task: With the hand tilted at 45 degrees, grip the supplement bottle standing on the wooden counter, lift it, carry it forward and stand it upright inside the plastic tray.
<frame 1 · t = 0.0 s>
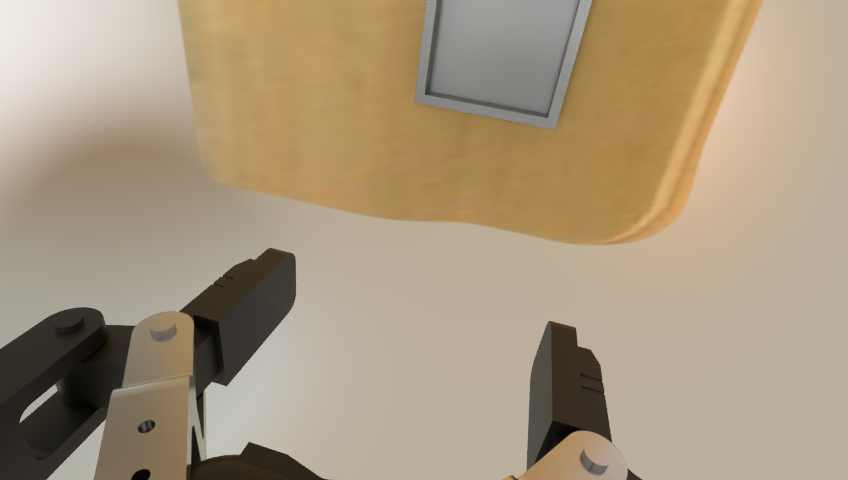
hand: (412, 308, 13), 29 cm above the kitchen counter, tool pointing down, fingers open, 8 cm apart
tray: (501, 36, 36), on the kitchen counter
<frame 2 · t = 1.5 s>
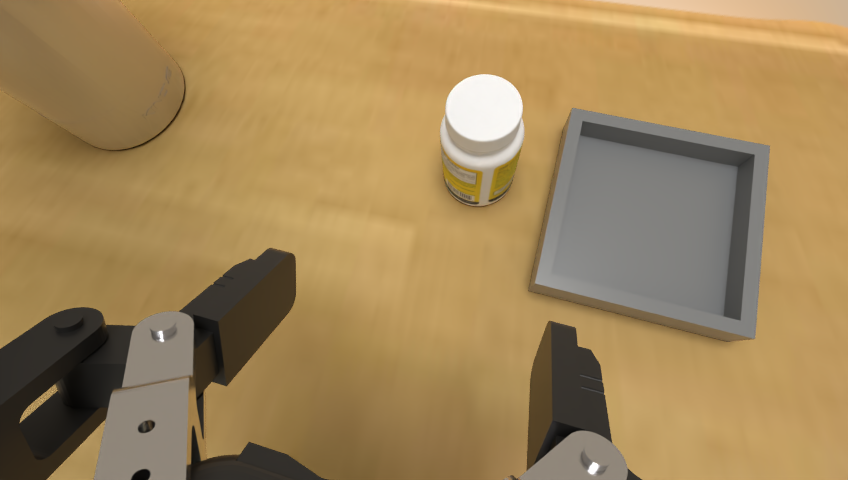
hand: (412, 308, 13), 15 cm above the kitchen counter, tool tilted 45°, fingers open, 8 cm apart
tray: (638, 225, 29), on the kitchen counter
supplement bottle: (477, 177, 31), on the kitchen counter
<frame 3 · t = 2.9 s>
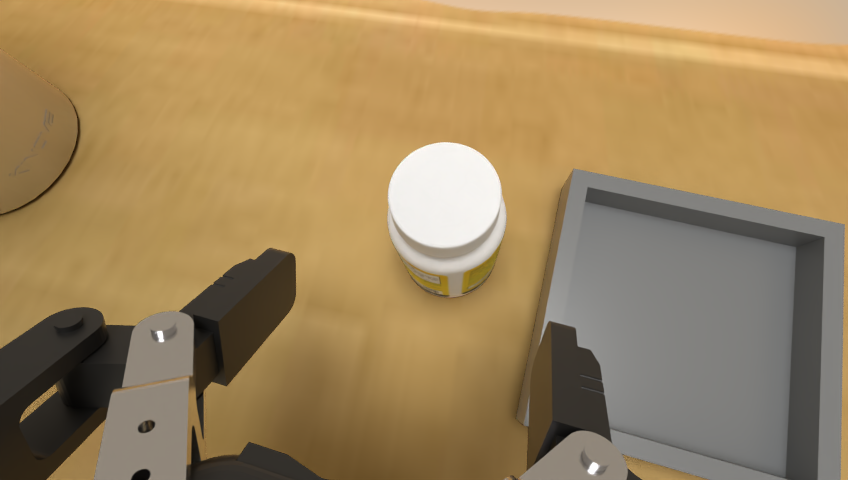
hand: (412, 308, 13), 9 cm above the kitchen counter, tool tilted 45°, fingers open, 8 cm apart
tray: (663, 326, 21), on the kitchen counter
supplement bottle: (449, 255, 23), on the kitchen counter
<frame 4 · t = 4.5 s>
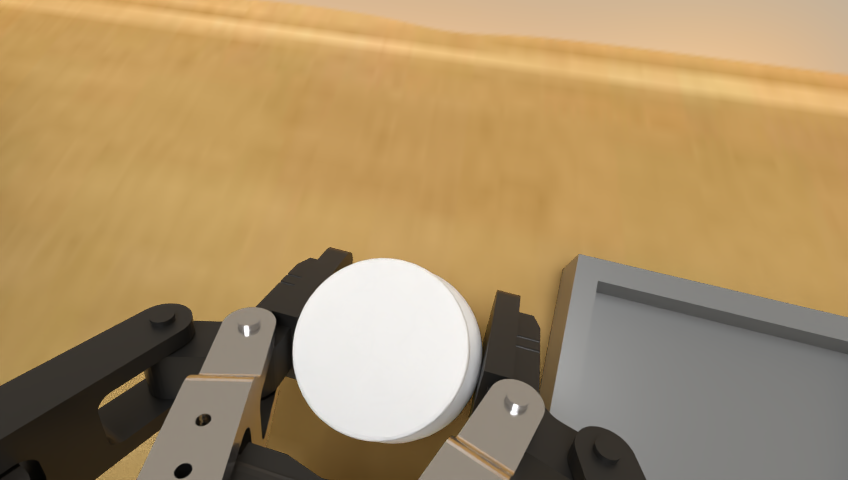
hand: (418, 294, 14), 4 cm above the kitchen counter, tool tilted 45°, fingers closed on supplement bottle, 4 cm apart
tray: (700, 467, 16), on the kitchen counter
supplement bottle: (415, 356, 18), on the kitchen counter, touching gripper
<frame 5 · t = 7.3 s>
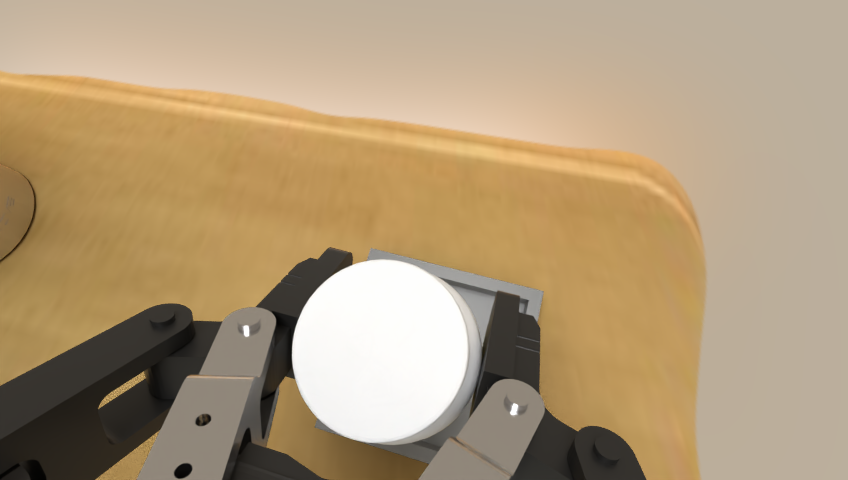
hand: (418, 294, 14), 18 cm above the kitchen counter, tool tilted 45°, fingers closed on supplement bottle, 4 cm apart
tray: (433, 358, 30), on the kitchen counter
supplement bottle: (415, 357, 18), point 13 cm above the kitchen counter, touching gripper
when the fingers open (6 cm above the kitchen counter, at t = 9.7 s): supplement bottle stays where it is, resting on tray.
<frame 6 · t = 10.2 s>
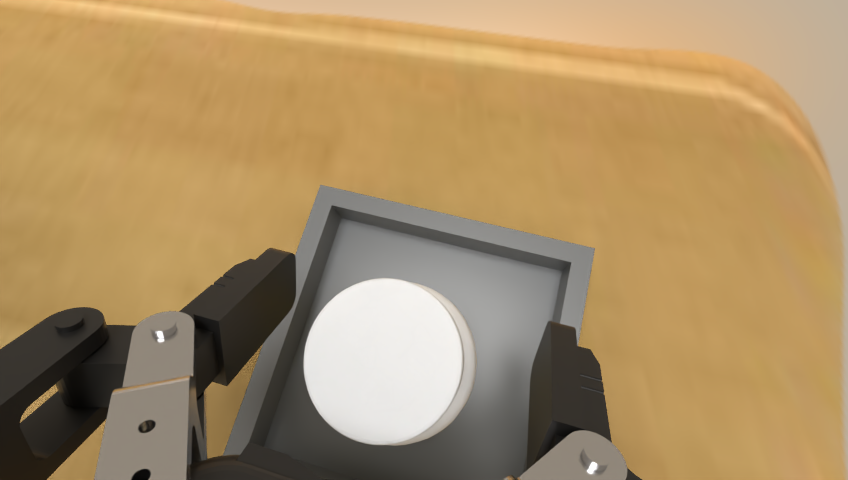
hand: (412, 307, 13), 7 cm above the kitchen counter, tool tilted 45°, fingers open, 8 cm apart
tray: (418, 357, 19), on the kitchen counter
supplement bottle: (415, 361, 19), point 1 cm above the kitchen counter, touching tray
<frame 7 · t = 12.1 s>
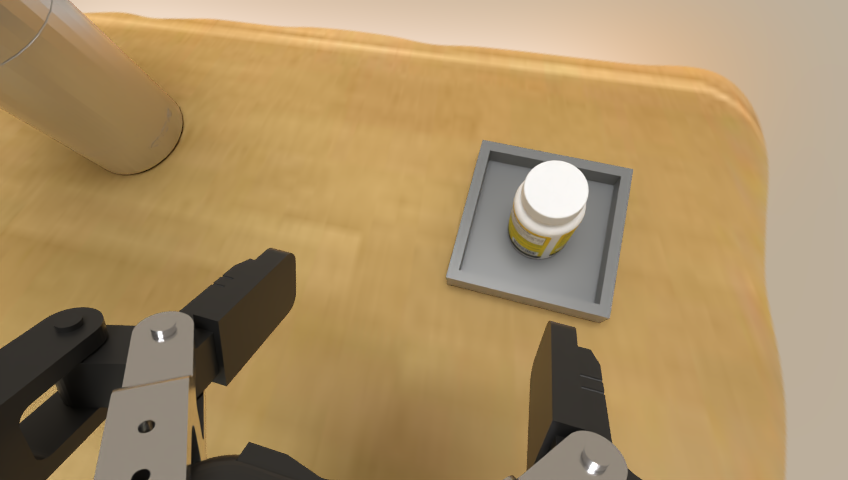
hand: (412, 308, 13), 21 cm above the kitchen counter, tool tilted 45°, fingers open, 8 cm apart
tray: (536, 232, 36), on the kitchen counter
supplement bottle: (536, 232, 35), point 1 cm above the kitchen counter, touching tray
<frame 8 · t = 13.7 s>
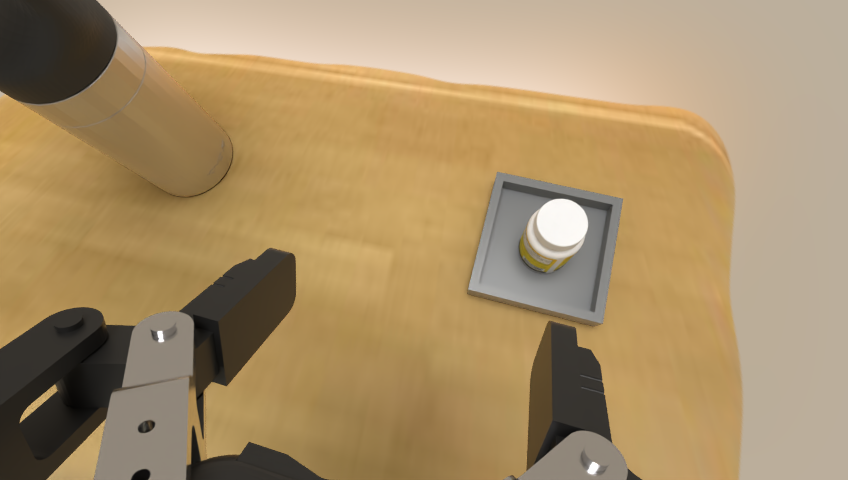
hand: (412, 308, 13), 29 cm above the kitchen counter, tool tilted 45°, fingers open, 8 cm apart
tray: (541, 250, 43), on the kitchen counter
supplement bottle: (542, 250, 42), point 1 cm above the kitchen counter, touching tray
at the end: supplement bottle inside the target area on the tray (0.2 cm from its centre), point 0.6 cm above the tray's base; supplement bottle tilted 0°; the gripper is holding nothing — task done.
